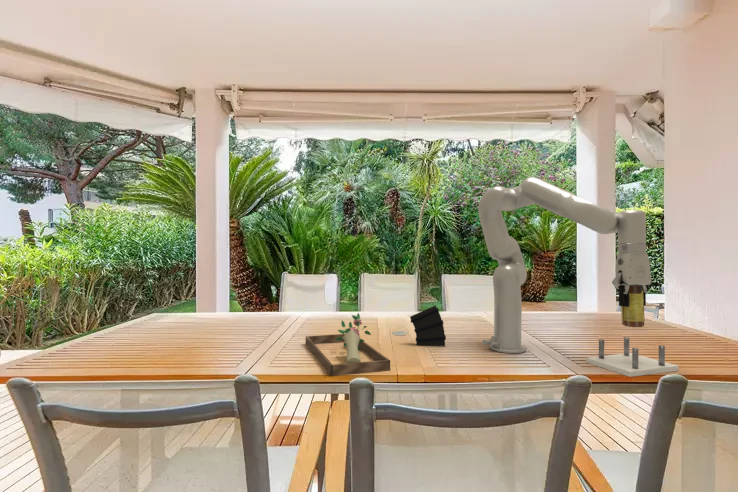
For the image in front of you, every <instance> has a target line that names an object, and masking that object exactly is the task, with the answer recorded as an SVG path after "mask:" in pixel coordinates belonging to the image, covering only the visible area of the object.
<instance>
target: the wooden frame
mask: <svg viewBox="0 0 738 492" xmlns="http://www.w3.org/2000/svg"><path fill="white" fill-rule="evenodd" d="M345 334H346V333H344V334H342V333H340V334H339V333H336V334H322V335H321V334H319V335H308V336H307V335H305V345H306V347H307V348H308V349H309V351H310V352H311V353H312V355H313V356H314V357H315V358H316V360H318V362H319V363H320V365H321V366H322V367H323V369H324V370H325V371H326V372H327V374H328V375H329V377H333V376H345V375H355V374H365V373H373V372H374V373H375V372H385V371H391V359H389V358H388V357H387V356H385V355H383V354H382V353H381V352H379V351H378V350H377V349H375V348H373V347H372V346H371V345H369V344H368V343H366V342H365V340H364V341H363V342H359V345H358V346H359V347H360V351H362V352H364V353H365V354H366V355H367V356H368V357H370V358H371V359H373V360H372V361H361V363H346V362H345V363H337V364H333V363H332V362H331V361H330V360H329V359H328V358H327V356H326V355H325V354H324V353H323V352H322V351H321V349H319V347H318V346H317V345H319V344H320V345H322V344H333V343H334V344H335V343H345V341H344V339H343V338H342V339H343V340H336V339H337V338H338V337H343V336H344V335H345Z"/></svg>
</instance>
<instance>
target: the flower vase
mask: <svg viewBox="0 0 738 492" xmlns="http://www.w3.org/2000/svg"><path fill="white" fill-rule="evenodd" d="M351 317H352V319H353V321H349V323H348V328H346V323H345V321H343V320H341V327H342V328H344V329H345V330H344V329H337V332H338V333H340V334H345V335H344V336H343V337H338V338H337V339H336V340H343V339H344V341H345V342H343V348H346V359H345V364H346V363H361V362H362V360H361V357H360V353H359V352H361V349H360V347H359V346H358V345H359V342H363V341H364V342H365V339H363V338H361V336H360V333H361V332H360V330H361V331H362V332H364V334H366V335H367V336H368V335H369V336H370V335H372V334H371V332H370V330H365V331H364V329H366V328H367V327H368V326H367V325H364V326H363V328H362V329H361V328H360V326H361V325H362V319H361V316H360V312H357V314H356V315H351ZM352 323H353V324H352ZM353 325H354V327H353ZM356 327H357V328H356ZM359 329H360V330H359ZM359 332H360V333H359ZM342 338H343V339H342Z"/></svg>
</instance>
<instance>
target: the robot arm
mask: <svg viewBox="0 0 738 492" xmlns="http://www.w3.org/2000/svg"><path fill="white" fill-rule="evenodd" d="M532 205H536V206H539V207H540V208H542V209H545V210H547V211H548V212H551V213H553V214H555V215H557V216H559V217H562V218H566V219H568V220H570V221H573V222H575V223H577V224H579V225H581V226H583V227H586V228H588V229H590V230H591V231H593V232H596V233H598V234H600V235H601V234H602V235H608V234H609V235H610V234H614V233H615V234H616V233H617V243H618V244H617V251H618V252H617V256H616V261H615V277H614V278H613V280H612V281H611V284H612V286H614V289H616V292H617V294H618V305H619V307H621V306H624V307H629V294H627V293H628V290H629V287H630V285H642V287H643V294H644V307H645V306H646V304H647V298H646V296H647V293H648V290H649V288H650V285H651V283H652V282H653V280H652V279H651V277H652V276H651V265H650V260H649V259H650V258H649V255H648V253H647V216H646V212H645V211H644V210H641V209H640V210H639V209H628V210H622V211H619V212H617V211H616V212H615V211H613V212H612V211H611V210H608V208H604V207H602V206H599V205H597V204H595V203H593V202H591V201H588V200H586V199H584V198H582V197H580V196H577V195H576V194H574V193H573V192H570V191H569V190H566V189H563V188H561V187H559V186H556V185H554V184H553V183H550V182H548V181H545V180H543V179H541V178H538V177H535V176H530V177H527V178H525V179H524V180H523V181H522V182H521V183H520V184H519V185H518V186H514V187H510V188H507V187H504V186H501V185H497V186H493V187H491V188H489V189H488V190H486V191H485V192H484V194H483V195H482V196H481V198H480V200H479V202H478V208H477V209H478V217H479V218H478V219H479V222H480V225H481V228H482V232H483V238H484V240H485V241H484V242H485V245H486V247H487V252H488V255H489V257H491V258H492V259H493V260H496V261H497V263H498V266H497V267H496V268H495V270H494V272H493V275H492V286H493V287H492V288H493V297H494V299H493V300H494V301H493V303H494V304H493V307H494V308H493V309H494V313H493V316H494V317H493V319H494V320H493V328H494V329H493V335H492V336H491V337H490V339H483V340H482V345H483V346H489V349H490V350H492V351H495V352H499V353H503V354H504V353H505V354H520V353H525V352H526V349H527V347H525V346H524V345H523V344H522V316H523V315H522V310H523V309H522V307H523V306H522V304H523V303H522V291H521V290H522V289H521V286H522V285H524V284H525V283H526V280H527V278H528V272H527V268H526V265H525V261H524V257H523V255H522V252H521V248H520V245H519V242H518V241H517V240H516V239H515V238H514V237H512V236H510V234H509V232H508V230H507V229H508V228H507V226H506V225H507V224H506V221H505V219H504V217H503V214H502V212H510V211H514V210H518V209H522V208H525V207H528V206H532ZM623 282H625V283H626V284H624V283H623ZM623 286H625V288H623Z"/></svg>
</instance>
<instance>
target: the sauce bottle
mask: <svg viewBox="0 0 738 492" xmlns="http://www.w3.org/2000/svg"><path fill="white" fill-rule="evenodd" d="M623 283H624V284H626V283H625V282H623ZM623 288H625V286H623ZM627 294H629V307H624V306H620V311H621V313H620V314H621V315H620V316H621V318H620V319H621V324H622V325H623V326H624V327H629V328H643V327H645V306H644V294H643V287H642V285H630V287H629V290H628V293H627Z"/></svg>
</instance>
